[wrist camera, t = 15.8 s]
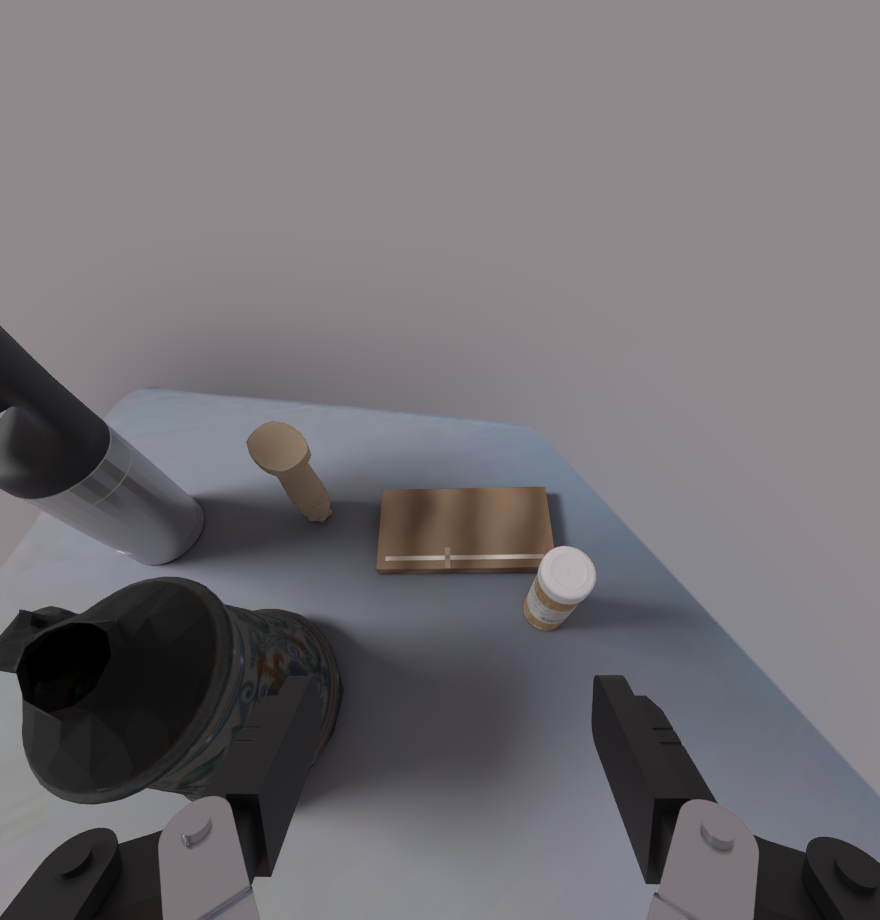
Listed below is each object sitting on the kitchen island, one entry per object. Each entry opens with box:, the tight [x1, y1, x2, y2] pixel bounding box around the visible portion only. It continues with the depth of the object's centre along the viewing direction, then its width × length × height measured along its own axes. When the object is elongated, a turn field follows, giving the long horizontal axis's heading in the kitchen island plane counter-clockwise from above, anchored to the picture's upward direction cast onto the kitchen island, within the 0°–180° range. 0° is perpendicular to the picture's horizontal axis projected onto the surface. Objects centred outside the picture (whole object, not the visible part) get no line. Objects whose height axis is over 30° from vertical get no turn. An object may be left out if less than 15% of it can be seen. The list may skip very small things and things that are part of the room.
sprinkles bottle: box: [523, 546, 596, 631], centre depth 41 cm, size 5×5×13 cm
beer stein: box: [0, 577, 344, 804], centre depth 33 cm, size 16×19×25 cm
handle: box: [246, 421, 332, 523], centre depth 48 cm, size 5×6×15 cm
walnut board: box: [376, 487, 554, 574], centre depth 51 cm, size 20×10×2 cm, turn 90°
